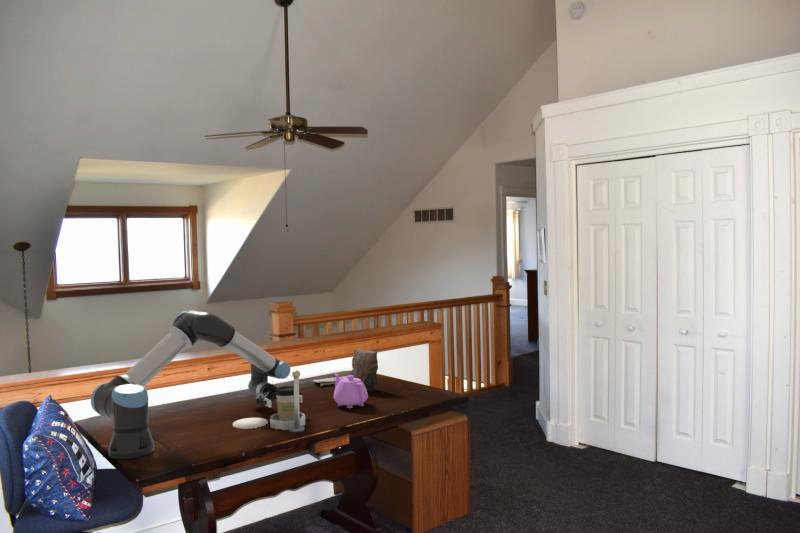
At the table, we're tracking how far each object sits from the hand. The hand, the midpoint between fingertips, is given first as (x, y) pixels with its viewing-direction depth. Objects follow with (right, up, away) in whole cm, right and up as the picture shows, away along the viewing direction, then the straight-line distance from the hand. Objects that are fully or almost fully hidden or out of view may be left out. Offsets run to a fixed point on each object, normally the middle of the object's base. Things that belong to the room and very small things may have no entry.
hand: (286, 401), depth 254 cm
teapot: (+24, -8, +28) cm, 37 cm away
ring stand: (+2, -9, -4) cm, 10 cm away
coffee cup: (+1, -9, -2) cm, 9 cm away
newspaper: (+17, -6, +77) cm, 79 cm away
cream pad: (-15, -9, -1) cm, 17 cm away
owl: (+28, -7, +55) cm, 62 cm away
